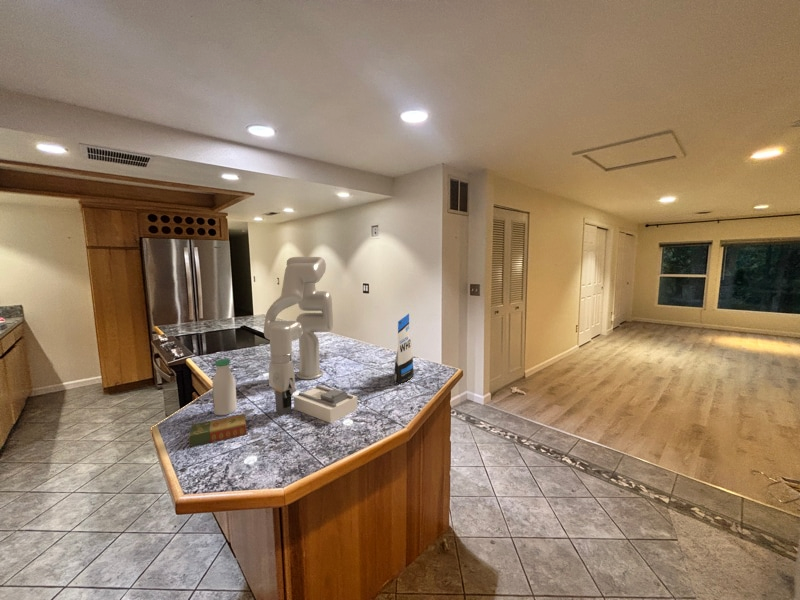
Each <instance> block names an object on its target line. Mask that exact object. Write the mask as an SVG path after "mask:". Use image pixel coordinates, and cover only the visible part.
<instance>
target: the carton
mask: <svg viewBox="0 0 800 600" xmlns="http://www.w3.org/2000/svg"><path fill="white" fill-rule="evenodd" d="M245 435H247V425H246V415H245V413H242V414H241V413H240V414H236V415H232V416H226V417H223V418H222V417H221V418H216V419H212V420H207V421H203V422H202V421H201V422H196V423H192V424H191V428H190V432H189V435H188V440H189V441H188V442H189V447H190V448H191V447H196V446H200V445H204V444H205V445H206V444H208V443H209V444H210V443H214V442H218V441H222V440H227V439H231V438H235V437H241V436H245Z"/></svg>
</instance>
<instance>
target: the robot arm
mask: <svg viewBox="0 0 800 600" xmlns="http://www.w3.org/2000/svg"><path fill="white" fill-rule="evenodd" d="M326 265H327V264H326V261H325V259H324V258H323V257H321V256H293V257H289V258H287V260H286V267H285V269H284V274H283V275H284V276H283V282H282V287H281V294H280V296H279V297H278V298H277V299H276V300H275V301H274V302H273V303H272V304H271V305H270V306H269V308H267V309H268V310H267V312H266V314H265V318H264V324H263V335H264V338H265V339H266V340H269V348H270V349H269V351H270V352H269V353H270V361H269V368H268V384H269V387H271V388H272V389H273V393H274V395H275V390H274V388H275V389H278V390H281V391H284V392H283V393H284V398H283V407H284V408H287V407H289V406H292V403H293V402H292V396H293V394H294V393H296V392H297V389H296V377H297V379H300V380H314V379H318V378H320V377H323V375H324V371H323V370H321V369H320V368H321V367H320V340H319V337H318V336H317V335H316V334H315V333H328V332H331V331H332V330H333V327H334V318H333V317H334V315H333V301H332V300H333V298H332V296H331V294H330V292H328V291H325V290H321V291H319V290H317V289H316V284H318V283H319V282H320V281H321V279H322V278H323V276H324V275H325V273H326V268H327V266H326ZM294 305H298V308H299V309H300V310H301V311H305V312H303V313H299V315H298V316H297V317H296V320H276V319H277V317H278V316H279V314H280V313H281V312H282V311H284V310H285V309H288V308H290V307H293V306H294ZM311 311H312V312H311ZM313 311H314V312H313ZM317 311H318V312H317ZM319 311H320V312H319ZM296 340H298V350H299V352H298V353H299V364H298V366H296V367H295V368H296V369H297V370H298V371H299V372H297V373H296V376H295V370H294V369H295V368H294V364H293V347H292V346H293V345H292V342H293V341H296ZM288 387H289V388H288ZM287 390H289V392H288V393H287ZM275 402H276V400H275Z"/></svg>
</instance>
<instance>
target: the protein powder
mask: <svg viewBox="0 0 800 600" xmlns="http://www.w3.org/2000/svg"><path fill="white" fill-rule="evenodd" d="M414 372H415V371H414V357H413V347H412V342H411V336H410V313H408V314H406V315H405V316H404V317H402V318H401V319H400V320H398V321H397V351H396V355H395V363H394V371H393V380H395V381H394V383H395V382H396V383H395V384H397V383H398V384H397V386H400V385H402V384H401V383H404V382H407V381H408V380H410V379H411V378H412V377H413V375H414ZM413 378H414V377H413ZM413 378H412V379H413ZM412 379H411V380H412ZM411 380H410V381H411ZM408 382H409V381H408ZM408 382H407V383H408ZM399 384H400V385H399ZM404 384H405V383H404Z"/></svg>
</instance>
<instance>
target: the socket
mask: <svg viewBox="0 0 800 600" xmlns="http://www.w3.org/2000/svg"><path fill="white" fill-rule="evenodd" d="M333 389H334V388H331V387H327V386H324V385H319V384H317V385H315V388H312V389H309V390H306V391H303V392H298V395H295V396H293V409H294V410H295V411H297V412H298V411H299V412H301V413H303V414H306V415H308V416H311V417H314V418H316V419H319V420H320V421H324V422H326V423H329V424H333V423H334V422H336V421H338V420H340V419H341V418H344V417H345V416H347V415H349V414H351V413H352V412H355V411H356V410H358V396H357V395H355V394H354V395H353V394H351V393H348V392H346V393H347V396H348V398H347V399H345V400H343V401H340V402H338V403H336V404H333V403H330V402H328V401H325V400H322V399H321V395H322V394H324V393H326V392H329V391H331V390H333Z"/></svg>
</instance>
